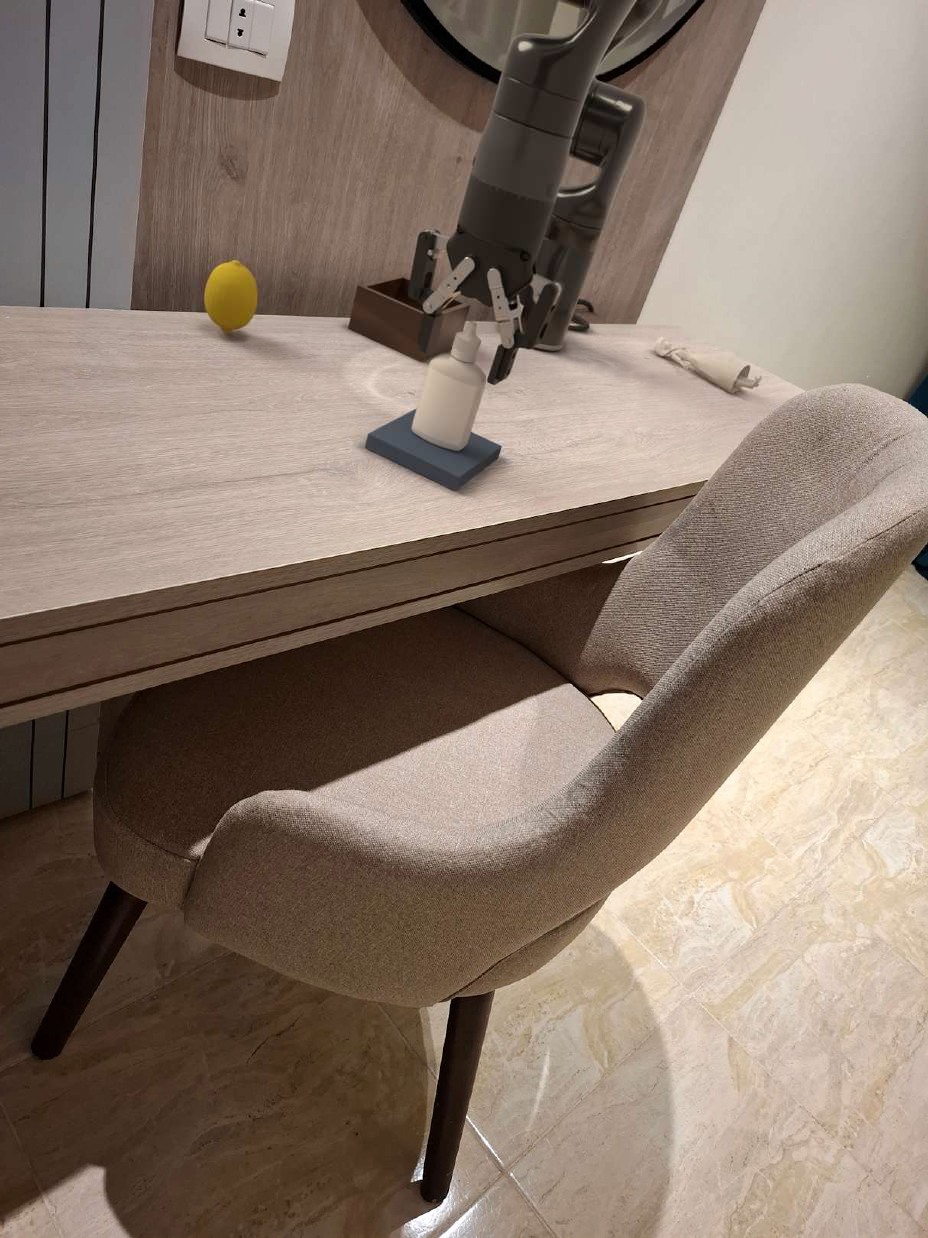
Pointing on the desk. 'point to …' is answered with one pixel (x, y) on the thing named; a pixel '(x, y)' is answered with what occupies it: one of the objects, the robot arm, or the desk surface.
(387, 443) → the block
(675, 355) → the woman figurine
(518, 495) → the desk surface
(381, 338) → the box
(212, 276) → the lemon
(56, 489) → the desk surface
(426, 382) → the eye dropper bottle
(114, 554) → the desk surface
